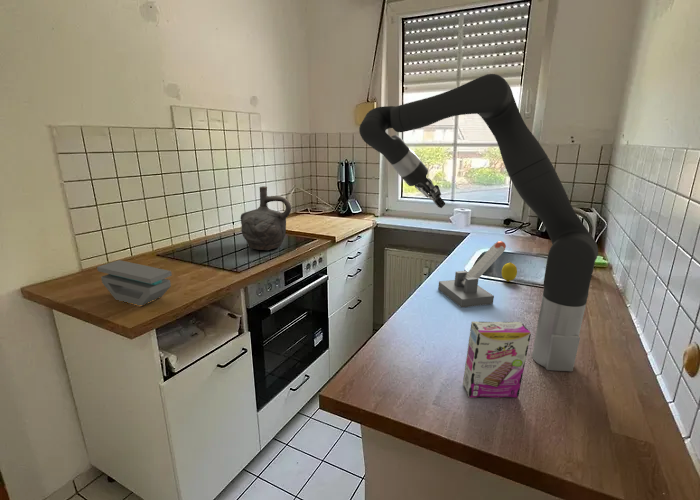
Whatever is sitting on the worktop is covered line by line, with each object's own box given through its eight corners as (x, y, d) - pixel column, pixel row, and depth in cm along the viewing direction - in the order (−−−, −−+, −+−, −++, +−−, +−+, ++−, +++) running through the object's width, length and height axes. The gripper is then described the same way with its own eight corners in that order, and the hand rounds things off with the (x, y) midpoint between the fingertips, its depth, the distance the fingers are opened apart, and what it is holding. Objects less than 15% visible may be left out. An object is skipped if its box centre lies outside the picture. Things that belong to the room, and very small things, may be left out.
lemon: (516, 285, 143) (519, 265, 141) (501, 283, 144) (504, 264, 142) (513, 279, 148) (516, 260, 146) (499, 278, 149) (501, 259, 147)
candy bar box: (469, 399, 81) (478, 332, 76) (462, 384, 85) (469, 320, 80) (520, 399, 81) (532, 332, 76) (510, 384, 86) (520, 320, 81)
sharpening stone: (103, 296, 128) (97, 266, 124) (124, 288, 134) (119, 260, 131) (155, 311, 118) (150, 279, 115) (175, 301, 125) (171, 271, 122)
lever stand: (492, 304, 126) (495, 282, 124) (461, 307, 123) (464, 285, 121) (466, 286, 141) (469, 266, 139) (438, 288, 138) (440, 268, 136)
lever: (469, 290, 130) (510, 247, 129) (463, 284, 128) (504, 240, 127) (463, 286, 133) (502, 244, 133) (457, 280, 132) (497, 237, 131)
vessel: (292, 241, 196) (290, 183, 187) (292, 253, 176) (290, 190, 167) (245, 242, 193) (241, 183, 184) (239, 255, 172) (234, 190, 163)
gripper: (428, 159, 106) (461, 200, 113) (409, 156, 119) (440, 194, 125) (409, 178, 107) (444, 218, 113) (392, 173, 119) (424, 210, 126)
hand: (442, 205), depth 119 cm, fingers closed
